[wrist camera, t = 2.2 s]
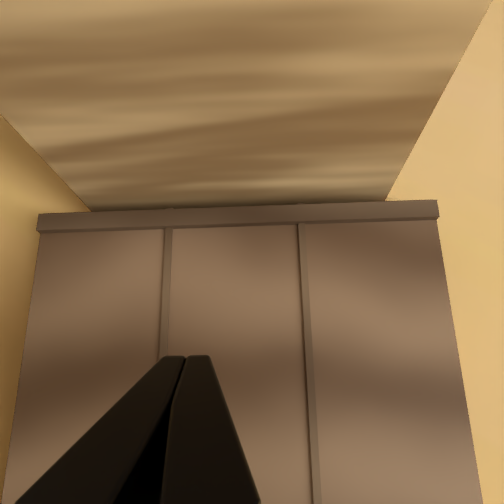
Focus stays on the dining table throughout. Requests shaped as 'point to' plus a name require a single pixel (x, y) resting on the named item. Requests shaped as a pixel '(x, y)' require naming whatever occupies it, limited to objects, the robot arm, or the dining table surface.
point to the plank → (227, 95)
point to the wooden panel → (259, 342)
